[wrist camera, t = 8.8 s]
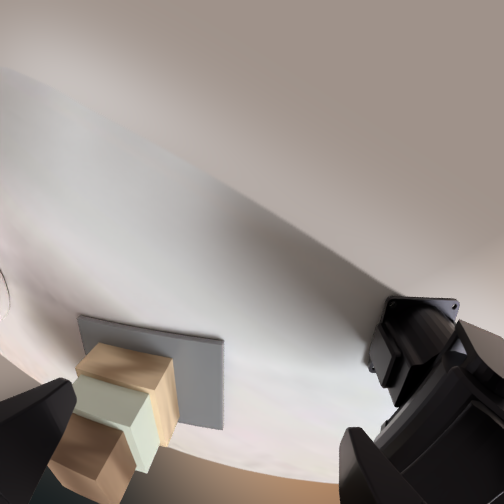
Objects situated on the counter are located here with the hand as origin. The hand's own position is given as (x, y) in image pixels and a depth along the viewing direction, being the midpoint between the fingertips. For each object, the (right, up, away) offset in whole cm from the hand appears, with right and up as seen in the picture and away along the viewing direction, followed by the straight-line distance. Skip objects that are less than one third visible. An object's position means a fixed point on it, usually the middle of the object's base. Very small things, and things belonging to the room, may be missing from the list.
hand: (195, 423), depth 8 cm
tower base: (-8, -6, +16) cm, 19 cm away
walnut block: (-9, -8, +9) cm, 15 cm away
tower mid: (-9, -7, +12) cm, 17 cm away
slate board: (-7, -6, +16) cm, 19 cm away
